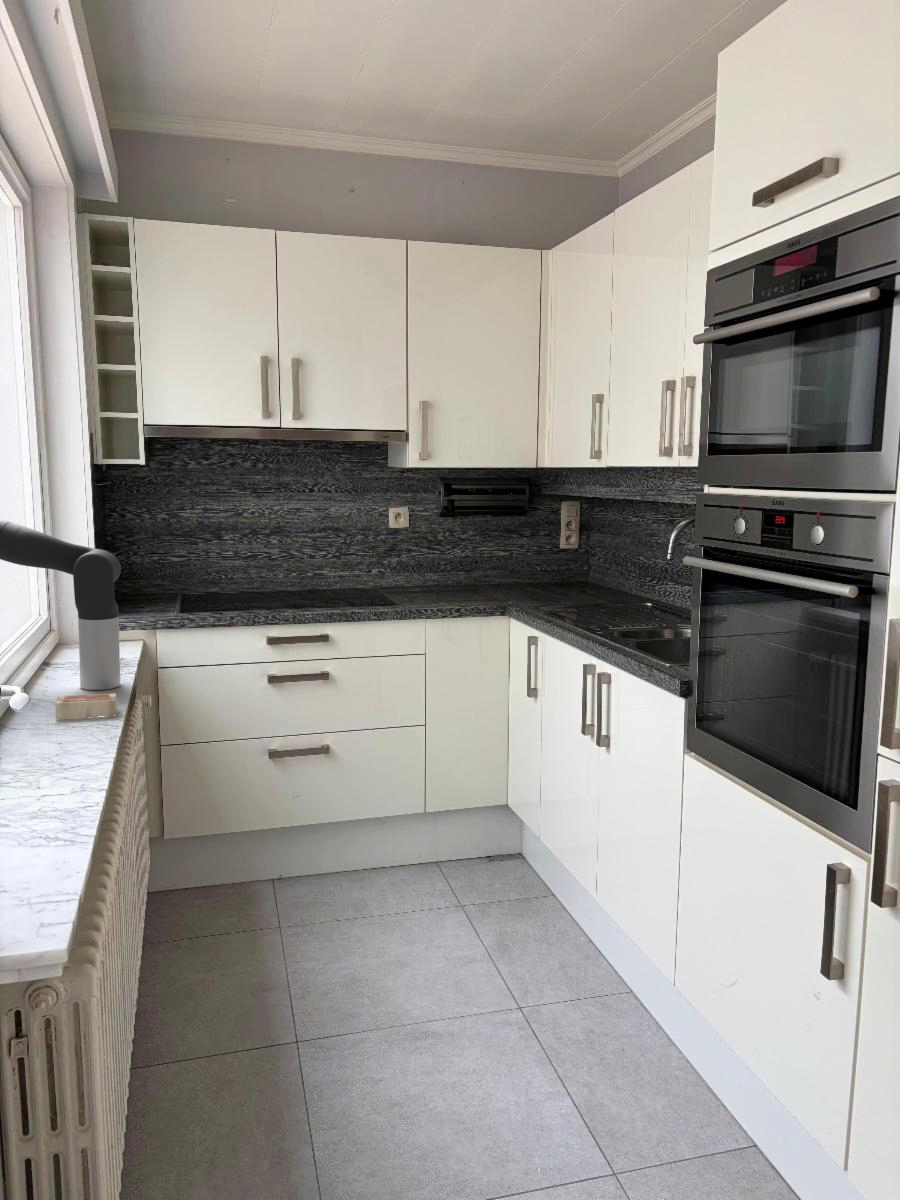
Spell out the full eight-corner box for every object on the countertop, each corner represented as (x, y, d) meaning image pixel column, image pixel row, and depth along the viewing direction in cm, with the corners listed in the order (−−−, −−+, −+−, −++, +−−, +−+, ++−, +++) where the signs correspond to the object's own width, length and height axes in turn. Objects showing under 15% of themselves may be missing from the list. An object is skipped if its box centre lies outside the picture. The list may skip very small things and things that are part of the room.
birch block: (57, 695, 201) (115, 692, 205) (58, 714, 202) (116, 710, 206) (55, 702, 195) (115, 699, 199) (56, 721, 196) (116, 717, 200)
